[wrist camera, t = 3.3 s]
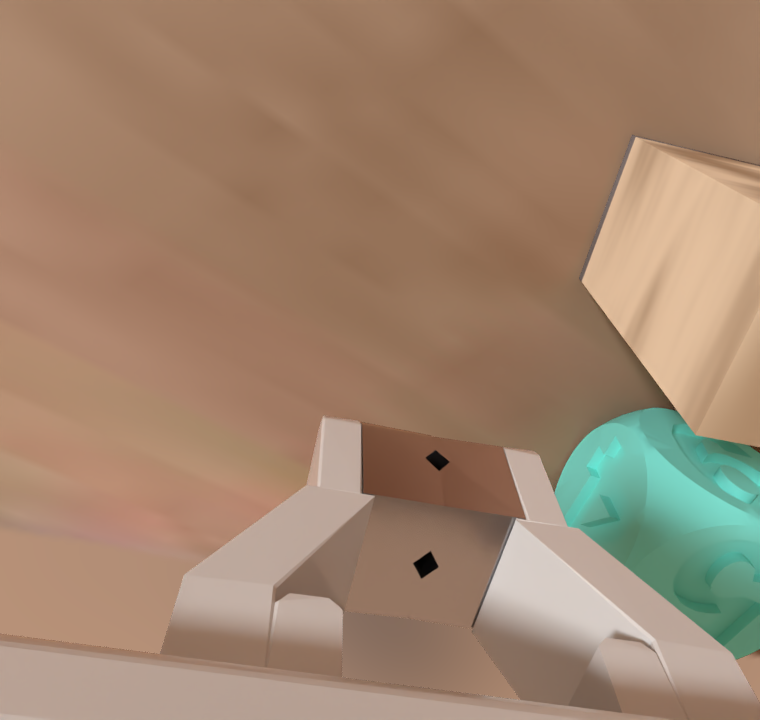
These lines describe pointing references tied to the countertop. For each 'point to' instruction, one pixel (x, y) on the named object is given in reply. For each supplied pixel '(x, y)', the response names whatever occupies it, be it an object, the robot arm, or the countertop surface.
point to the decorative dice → (674, 516)
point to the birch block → (686, 280)
